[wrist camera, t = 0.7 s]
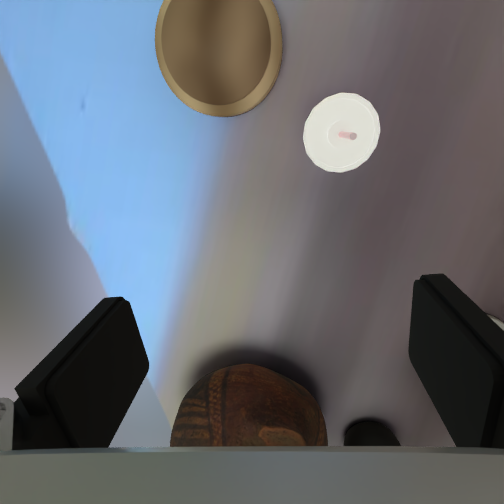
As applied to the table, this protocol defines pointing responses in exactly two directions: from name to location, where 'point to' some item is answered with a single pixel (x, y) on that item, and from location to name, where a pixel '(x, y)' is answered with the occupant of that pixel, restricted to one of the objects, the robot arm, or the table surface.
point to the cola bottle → (370, 435)
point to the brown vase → (248, 411)
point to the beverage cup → (341, 132)
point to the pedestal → (219, 53)
